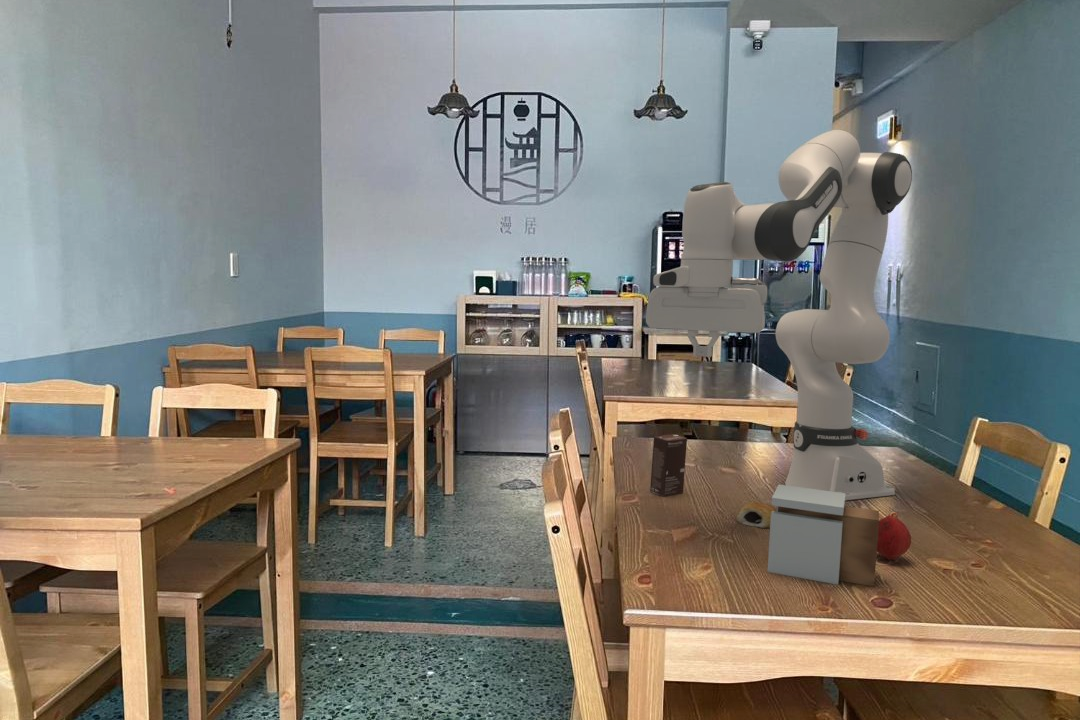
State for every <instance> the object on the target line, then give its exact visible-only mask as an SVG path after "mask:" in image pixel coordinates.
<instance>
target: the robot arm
mask: <svg viewBox="0 0 1080 720" xmlns="http://www.w3.org/2000/svg"><path fill="white" fill-rule="evenodd" d="M912 181H913V169H912V165H911V162H910V161H909V160H908V158H907V156H905V155H904V154H901V153H897V152H892V151H891V152H890V151H884V152H883V153H882V152H861V147H860V145H859V142H858V140H857V139H856V138H855V137H854V135H853V134H851V133H850V132H848V131H845V130H841V129H832V130H827V131H826V132H823V133H821V134H819V135H817V136H815V137H813V138H811V139H809V140H808V141H806V142H804V143H803V144H802V145H801V146H799V147H798V148H797V149H795V150H794V151H793V152H791V154H789V156H787V157H786V159H785V160H784V161H783V162H782V164H781V166H780V168H779V171H778V185H779V190H780V191H781V193H782V195H783V196H784V197H785V198H786V200H784V201H783V200H782V201H778V202H770V203H760V204H759V203H758V204H749V205H748V204H746V203H744V202H742V201H741V200H740V199H739V198H738V197H737V196H736V194H735V191H734V190H735V189H734V185H733V184H732V183H730V182H727V181H720V182H713V183H705V184H697V185H695V186H692V188H690V189H689V190H688V192H687V194H686V197H685V203H684V206H683V216H682V225H681V226H682V229H681V235H682V240H683V249H682V250H683V251H682V253H681V257H680V266H679V267H675V268H672V269H669V270H666V271H663V272H660V273H656V274H655V275H654V276H653V279H652V282H653V285H654V286H655V287H654V288H653V289H651V291H650V292H649V296H648V300H647V303H646V304H647V305H646V313H645V323H646V325H647V326H648V328H651V329H660V330H661V329H664V330H665V329H666V330H685V331H687V338H688V340H689V342H690V344H691V345H692V347H693V350H692V351H693V353H692V355H693V357H702V358H711V357H712V355H713V347H714V345H715V344H716V343H717V341H718V339H719V338H720V332H726V333H727V332H728V333H748V334H749V333H751V334H759V333H761V332H762V331H763V330H764V329H765V325H766V323H765V322H766V316H765V315H766V314H765V304H766V302H767V301H768V293H769V291H768V290H769V289H768V286H767V284H766V283H765V282H764V281H762V280H760V278H757V277H751V278H747V277H746V278H745V277H733V274H734V273H733V269H734V261H742V260H743V261H761V260H762V261H775V262H776V261H777V262H778V261H779V262H792V261H794V260H797V259H798V258H799V257H801V255H803V253H804V252H805V251H806V250H807V248H808V247H809V245H810V243H811V241H812V239H813V236H814V233H815V232H816V231H817V229H818V228H819V227H820V225H821V224H822V223H823V221H824V220H825V219H826V217H827V216H828V214H829V213H830V212H831V211H832V210H833V208H839V209H841V213H840V215H839V217H838V219H837V221H836V223H835V226H834V228H833V231H832V233H831V236H830V239H829V242H828V246H827V249H826V251H825V256H824V258H823V262H822V266H821V269H820V272H819V282H820V283H821V285H822V287H823V288H824V289H825V290H826V291H827V292H829V293H830V298H831V299H830V306H829V308H828V309H815V308H814V309H813V308H804V309H799V310H794V311H789V312H787V313H784V314H783V315H782V316H781V317H780V319H779V320H778V322H777V324H776V328H775V340H776V343H777V346H778V347H779V349H780V350H782V352H783V353H784V354H785V355H786V356H787V359H788V360H789V361H790V364H791V366H792V369H793V372H794V376H795V379H796V386H797V410H796V411H797V415H796V421H795V422H794V425H793V426H794V429H793V447H794V448H793V454H792V458H791V464H790V467H789V471H788V474H787V477H786V480H785V483H784V485H786V486H794V487H801V488H809V489H816V490H824V491H832V492H839V493H846V496H845V501H850V500H860V499H861V500H862V499H867V498H870V499H871V498H876V497H877V498H878V497H887V496H895V495H896V490H895V488H894V487H893V486H892V485H890V484H888V483H886V482H885V477H884V469H883V466H882V464H881V462H880V461H879V460H878V459H877V458H876V457H874V456H873V455H872V454H871V453H869V452H868V451H867V450H865V449H864V448H863V446H861V445H860V444H859V442H858V439H861V440H867V438H869V431H867V430H865V429H862V428H857V429H856V428H855V427H854V426H853V425H852V421H853V418H852V417H853V408H854V407H853V406H854V405H853V404H854V392H853V389H852V387H851V385H849V384H848V383H847V382H846V381H845V380H844V379H843V378H842V377H841V375H840V374H839V372H838V369H837V366H836V363H840V364H841V363H842V364H848V365H858V364H859V365H860V364H869V363H875V362H878V361H879V360H880V359H882V358H883V356H884V355H885V353H886V352H887V350H888V348H889V346H890V341H891V340H890V339H891V335H890V334H891V333H890V330H889V326H888V325H887V323H886V321H885V320H884V319H883V318H882V317H881V315H880V314H879V313H878V311H877V308H876V303H875V299H874V298H875V297H874V292H875V285H876V284H875V283H876V280H877V275H878V271H879V267H880V264H881V260H882V257H883V254H884V250H885V245H886V242H887V241H886V240H887V235H888V234H887V233H888V227H889V214H891V213H892V212H893V211H894V210H895V208H896V207H897V206H898V205H899V204H901V203H902V201H903V200H904V199H905V198H906V196H907V195H908V193H909V191H910V189H911V186H912ZM699 331H703V332H705V331H706V332H707V331H708V338H711V339H710V340H709V342H708V344H707V345H705V346H704V345H700V344H699V341H698V340H697V338H696V337H698V336H699Z"/></svg>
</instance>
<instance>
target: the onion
mask: <svg viewBox="0 0 1080 720" xmlns="http://www.w3.org/2000/svg"><path fill="white" fill-rule="evenodd" d="M898 517H899V514H898V513H897V512H896V511H892V512H891V511H890V513H889V514H887V515H886V517H883V518H881V519H879V529H878V542H877V554H879V555H880V556H882V557H883V558H884V559H885V560H887V561H894V560H896V559H897V558H898V557H901V556H902V555H904V554H905V553H907V552H908V550H909V549H910V547H911V544H912V537H911V533H910V531H909V529H908V527H907V526H906V524H904V522H903V521H902V520H900V519H899V518H898Z"/></svg>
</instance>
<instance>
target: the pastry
mask: <svg viewBox="0 0 1080 720" xmlns="http://www.w3.org/2000/svg"><path fill="white" fill-rule="evenodd" d="M772 511H776V506H773V505H769V504H767V503H762V502H748V503H746V504H744V505H742V506H741V507H740V509H739V512H738V515H736V521H737V522H738V523H739V524H742V525H746V526H751V527H756V528H761V529H770V523H771V512H772Z"/></svg>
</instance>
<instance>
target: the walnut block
mask: <svg viewBox="0 0 1080 720" xmlns="http://www.w3.org/2000/svg"><path fill="white" fill-rule="evenodd" d="M778 512H783V513H790V514H797V515H804V516H810V517H817V518H824V519H831V520H838V521H843V525H842V540H841V554H840V568H839V581H841V582H846V583H852V584H857V585H862V586H868V587H873V588H874V587H875V580H876V579H875V578H876V565H877V554H878V552H877V542H878V529H879V521H880V511H879V510H874V509H868V508H861V507H854V506H847V505H844V512H843V516H842V515H835V514H828V513H821V512H814V511H807V510H800V509H794V508H787V507H780V506H778Z"/></svg>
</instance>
